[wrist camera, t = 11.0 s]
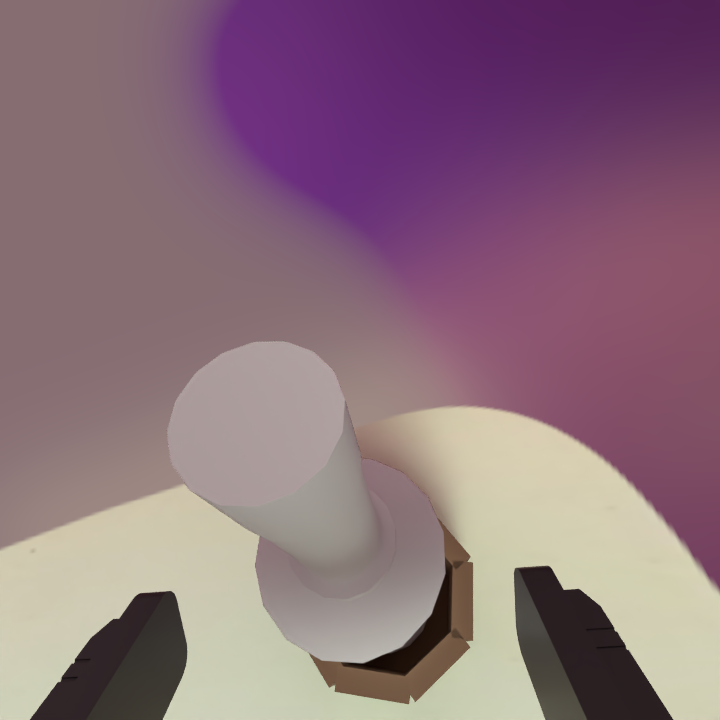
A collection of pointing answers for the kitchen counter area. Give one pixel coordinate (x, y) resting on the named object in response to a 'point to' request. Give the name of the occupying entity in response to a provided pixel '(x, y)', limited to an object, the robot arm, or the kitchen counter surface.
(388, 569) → the bottle
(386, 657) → the wooden cup
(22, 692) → the kitchen counter surface
